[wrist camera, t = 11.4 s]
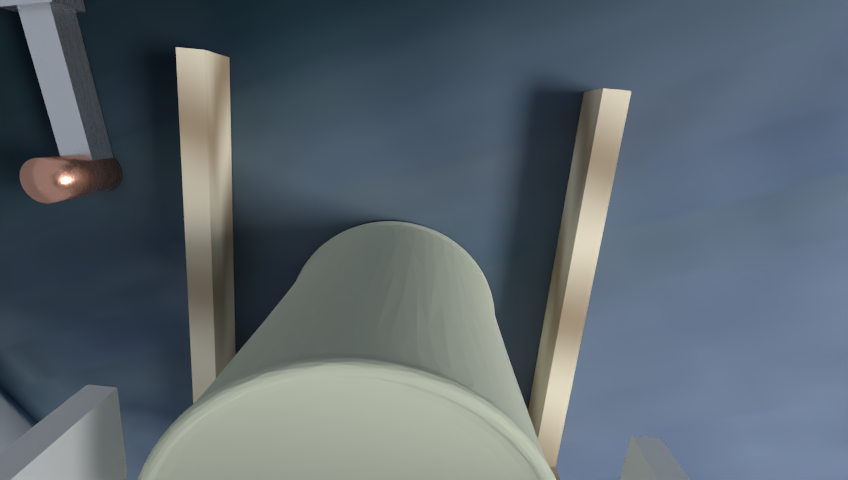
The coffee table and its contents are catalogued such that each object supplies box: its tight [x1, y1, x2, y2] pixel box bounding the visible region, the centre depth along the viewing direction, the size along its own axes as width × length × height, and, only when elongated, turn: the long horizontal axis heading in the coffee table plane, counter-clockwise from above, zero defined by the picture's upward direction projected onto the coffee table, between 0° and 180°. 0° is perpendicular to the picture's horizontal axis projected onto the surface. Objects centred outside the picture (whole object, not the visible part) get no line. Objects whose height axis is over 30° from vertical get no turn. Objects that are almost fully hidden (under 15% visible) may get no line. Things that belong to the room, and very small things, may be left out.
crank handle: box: [0, 0, 122, 203], centre depth 16 cm, size 9×2×3 cm, turn 5°
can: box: [138, 221, 556, 480], centre depth 14 cm, size 9×9×12 cm
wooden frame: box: [176, 47, 631, 480], centre depth 17 cm, size 21×16×7 cm
